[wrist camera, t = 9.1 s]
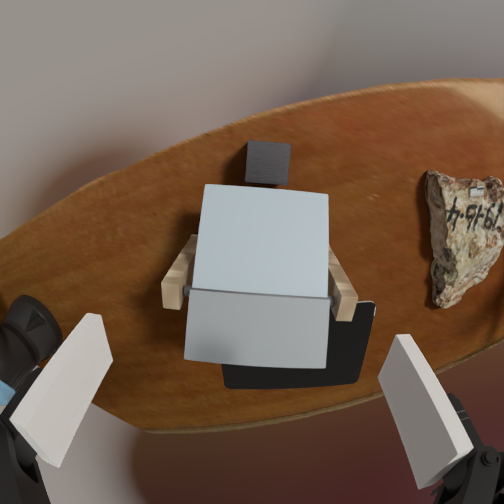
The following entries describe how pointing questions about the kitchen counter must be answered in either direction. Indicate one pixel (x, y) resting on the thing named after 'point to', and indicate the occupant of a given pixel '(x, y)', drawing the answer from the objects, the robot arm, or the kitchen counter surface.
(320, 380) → the tablet
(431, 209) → the stone
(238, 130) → the kitchen counter surface
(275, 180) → the block
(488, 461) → the robot arm
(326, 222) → the trapdoor
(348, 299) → the frame
